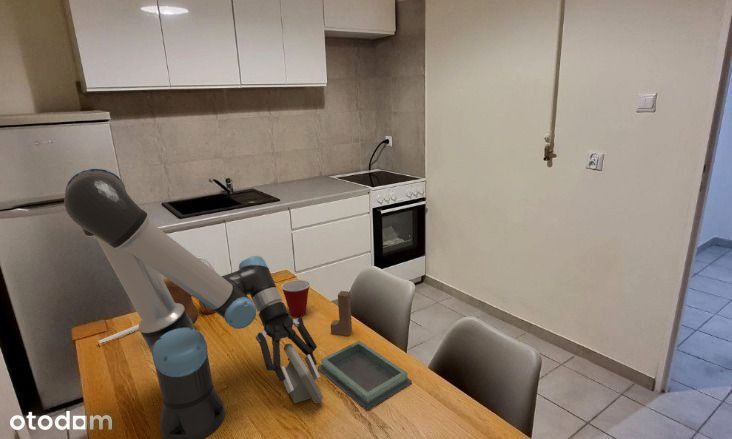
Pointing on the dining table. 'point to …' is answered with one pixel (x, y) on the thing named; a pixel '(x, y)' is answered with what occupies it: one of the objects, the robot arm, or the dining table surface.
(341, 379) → the keeper tray
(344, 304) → the wooden block
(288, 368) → the digital clock
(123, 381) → the dining table surface
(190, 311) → the butternut squash
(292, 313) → the plastic cup
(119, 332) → the marker
